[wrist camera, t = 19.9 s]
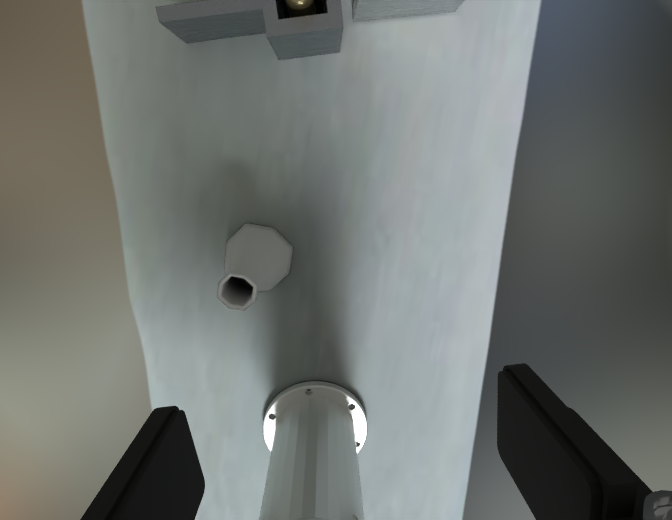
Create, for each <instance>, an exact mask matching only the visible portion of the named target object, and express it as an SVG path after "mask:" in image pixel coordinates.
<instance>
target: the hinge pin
mask: <svg viewBox="0 0 672 520" xmlns="http://www.w3.org/2000/svg"><path fill="white" fill-rule="evenodd" d="M286 4H287V7H288V11H289V15H290V18H294V17H302V16H309V15H316V9H315V0H286Z"/></svg>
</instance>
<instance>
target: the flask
mask: <svg viewBox="0 0 672 520" xmlns="http://www.w3.org/2000/svg"><path fill="white" fill-rule="evenodd" d="M292 252H293V247H292V246H291V245H290V244H289V243H288V242H287V241H286V240H285V239H284V238H283V237H282V236H281V235H280V234H279V233H278V232H277V231H276V230H275V229H274V228H272V227H266V226H260V225H255V224H249V223H245V224H244V225H243V226H242V227H241V228H240V229H239V230H238V231H237V232H236V233H235V234H234V235H233V236H232V237H231V238H230V239H229V240H228V241H227V245H226V254H225V264H224V268H225V271H226V273H227V275H226V276H225V277H224V278H223V279H222V280H221V281H220V282H219V283H218V293H217V298H218V299H219V300H220V301H221V302H223V303H224V304H225V305H226V306H227V307H228V308H232V309H238V310H246V309H247V308H248V307H249V306H250V305H251V304H252V303H253V302H254V301H255V300H256V295H257V292H260V291H268V290H271V289H272V288H273V287H274V286H275V285H277V284H278V283H279V282H280V281H281V280H282V279H283V278H284V277H285V276H286V275H288V274H289V272H290V265H291V259H292Z"/></svg>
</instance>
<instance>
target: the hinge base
mask: <svg viewBox="0 0 672 520" xmlns="http://www.w3.org/2000/svg"><path fill="white" fill-rule="evenodd" d="M323 7H324V14H317V15H309V16H302V17H294V18H286V19H284V15H283V8H282V1H281V0H205V1H198V2H190V3H182V4H175V5H167V6H160V7H156V10H157V15H158V19H159V22H160V23H161V24H162V25H163V26H165V27H166V28H167V29H169V30H170V31H171V32H172V33H174V34H175V35H176V36H178V37H179V38H180V39H181V40H183V41H184V42H185V43H191V42H199V41H207V40H214V39H222V38H230V37H237V36H245V35H253V34H260V33H266V34H267V38H268V40H269V42H270V44H271V46H272V48H273V50H274V52H275V54H276V56H277V57H278V59H279V60H284V59H291V58H299V57H307V56H314V55H322V54H330V53H337V52H340V47H341V39H342V32H343V20H342V10H341V0H323Z"/></svg>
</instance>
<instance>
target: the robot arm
mask: <svg viewBox="0 0 672 520" xmlns="http://www.w3.org/2000/svg"><path fill="white" fill-rule="evenodd" d="M263 435H264V440H265V442H266V444H267V446H268V448H269V450H270V451H271V456H270V462H269V467H268V473H267V478H266V484H265V489H264V495H263V500H262V506H261V511H260V517H259V520H364V513H363V503H362V494H361V484H360V475H359V465H358V455H357V453H358V452H359V451H360V449H361V448H362V446H363V444H364V442H365V439H366V435H367V420H366V414H365V412H364V409H363V407H362V405H361V404H360V402H359V400H358V399H357V398H356V397H355V396H354V395H353V394H352V393H350V392H349V391H347V390H346V389H345V388H342V387H340V386H338V385H336V384H332V383H328V382H321V381H310V382H303V383H299V384H295V385H293V386H291V387H289V388H287V389H285V390H284V391H282V392H281V393H279V394H278V395H277V396H276V397H275V398H274V399H273V400H272V402H271V403H270V405H269V406H268V408H267V411H266V413H265V417H264V422H263ZM497 446H498V451H499V454H500V457H501V459H502V461H503V462H504V464H505V466H506V468H507V470H508V471H509V473H510V475H511V477H512V478H513V480H514V482H515V484H516V485H517V487H518V489H519V490H520V492H521V494H522V496H523V498H524V499H525V501H526V502H527V504H528V506H529V508H530V510H531V512H532V513H533V515H534V517H535V518H536V520H672V491H667V490H660V491H655V492H652V491H651V490H650V489H649V488H648V486H647V485H646V484H645V483H644V482H643V481H642V480H641V479H640V478H639V477H638V476H637V475H636V474H635V473H634V472H633V471H632V470H631V469H630V468H629V467H628V466H627V465H626V464H625V463H624V462H623V460H621V458H620V457H619V456H618V455H617V454H616V453H615V452H614V451H613V450H612V449H611V448H610V447H609V446H608V445H607V444H606V443H605V442H604V441H603V440H602V439H601V438H600V437H599V436H598V434H597V433H596V432H595V431H594V430H593V429H592V428H591V427H590V426H589V425H588V424H587V423H586V422H585V421H584V420H583V419H582V418H581V417H580V416H579V415H578V414H577V413H576V412H575V411H574V410H572V409H571V408H569V407H567V406H566V405H565V404H564V403H563V402H562V401H561V400H560V399H559V398H558V397H557V396H556V395H555V393H554V392H553V391H552V390H551V389H550V388H549V387H548V386H547V385H546V384H545V383H544V382H543V381H542V380H541V379H540V378H539V376H537V374H536V373H535V372H534V371H533V370H532V369H531V368H530V367H529V366H528V365H527V364H524V363H523V364H514V365H507V366H504V368H503V371H500V372H499V373H498V418H497ZM204 489H205V481H204V477H203V473H202V470H201V466H200V463H199V460H198V456H197V453H196V449H195V446H194V442H193V439H192V436H191V432H190V429H189V425H188V422H187V418H186V415H185V412H184V411H183V410H179V408H178V407H177V406H169V407H161V408H156V409H154V410H153V411H152V413H151V414H150V416H149V418H148V419H147V421H146V422H145V424H144V425H143V426H142V428H141V430H140V431H139V433H138V434H137V436H136V437H135V439H134V440H133V441H132V443H131V444H130V446H129V447H128V449H127V450H126V452H125V453H124V455H123V456H122V458H121V460H120V461H119V463H118V464H117V466H116V467H115V468H114V470H113V471H112V473H111V474H110V476H109V478H108V479H107V481H106V482H105V483H104V485H103V486H102V488H101V490H100V491H99V493H98V494H97V495H96V497H95V498H94V500H93V501H92V503H91V505H90V506H89V507H88V509H87V510H86V512H85V514H84V515H83V516H82V518H81V520H194V519H195V516H196V514H197V511H198V508H199V505H200V502H201V500H202V497H203V494H204Z"/></svg>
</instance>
